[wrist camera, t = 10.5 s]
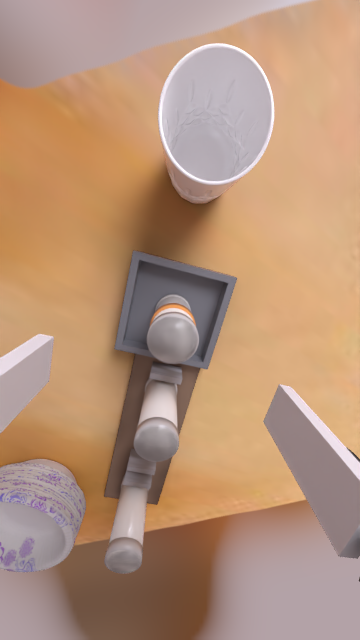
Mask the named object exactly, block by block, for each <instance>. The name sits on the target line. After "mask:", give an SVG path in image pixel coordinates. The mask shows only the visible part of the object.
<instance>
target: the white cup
mask: <svg viewBox="0 0 360 640" xmlns="http://www.w3.org/2000/svg"><path fill="white" fill-rule="evenodd" d="M273 123H274V101H273V95H272V91H271V87H270V84H269V82H268V79H267V77H266V75H265V73H264V72H263V70H262V68H261V67H260V66H259V64H258V63H257V62H256V61H255V60H254V59H253V58H252V57H251V56H250V55H249V54H247V53H246V52H245V51H243V50H241V49H239V48H237V47H235V46H232V45H228V44H208V45H204V46H201V47H199V48H197V49H195V50H193V51H191V52H190V53H188V54H187V55H185V56H184V57H183V58H182V59H181V60H180V61H179V62H178V63H177V64H176V65H175V67H174V68H173V69H172V71H171V73H170V74H169V76H168V78H167V80H166V82H165V84H164V87H163V90H162V93H161V97H160V101H159V109H158V125H159V132H160V137H161V142H162V147H163V152H164V156H165V161H166V166H167V169H168V173H169V175H170V178H171V182H172V185H173V187H174V188H175V189H176V191H177V192H178V194H179V195H180V196H181V197H182V198H184V199H186V200H188V201H189V202H191V203H208V202H210V201H211V200H213V199H215V198H217V197H219V196H220V195H222V194H223V193H224V192H226V191H227V190H228V189H230V188H231V187H232V186H233V185H234V184H235V183H236V182H238V181H239V180H240V179H241V178H242V177H243V176H244V175H246V174H247V173H248V172H249V171H250V170H251V169H252V168H253V167H254V166H255V165H256V164H257V162H258V161H259V160H260V158H261V157H262V155H263V153H264V152H265V150H266V148H267V145H268V143H269V140H270V137H271V133H272V129H273Z"/></svg>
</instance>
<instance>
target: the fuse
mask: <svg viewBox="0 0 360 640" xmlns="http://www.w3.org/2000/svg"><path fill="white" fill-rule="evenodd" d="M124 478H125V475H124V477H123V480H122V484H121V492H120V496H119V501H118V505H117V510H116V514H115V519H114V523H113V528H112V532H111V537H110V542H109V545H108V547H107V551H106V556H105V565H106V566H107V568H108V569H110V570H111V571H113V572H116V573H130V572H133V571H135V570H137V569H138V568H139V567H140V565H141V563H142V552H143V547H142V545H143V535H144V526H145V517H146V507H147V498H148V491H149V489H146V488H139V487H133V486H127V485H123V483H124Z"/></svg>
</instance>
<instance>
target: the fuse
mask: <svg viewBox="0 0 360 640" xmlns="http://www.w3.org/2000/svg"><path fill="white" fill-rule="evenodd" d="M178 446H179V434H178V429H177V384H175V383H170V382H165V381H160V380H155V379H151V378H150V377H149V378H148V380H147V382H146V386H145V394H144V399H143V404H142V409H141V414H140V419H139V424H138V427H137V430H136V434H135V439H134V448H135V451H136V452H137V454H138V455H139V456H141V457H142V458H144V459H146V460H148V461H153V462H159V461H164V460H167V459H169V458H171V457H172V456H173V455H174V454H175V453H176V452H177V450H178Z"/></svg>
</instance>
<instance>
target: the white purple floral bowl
mask: <svg viewBox="0 0 360 640" xmlns="http://www.w3.org/2000/svg"><path fill="white" fill-rule="evenodd" d="M85 510H86V501H85V497H84V494H83V492H82V490H81V489H80V487H79V486H78V485H77V482H76V479H75V477H74V475H73V474H72V473H71V471H70V470H69V469H67V468H66V467H65V466H63V465H62V464H60V463H58V462H55V461H52V460H48V459H33V460H28V461H25V462H21V463H15V464H9V465H5V466H3V467H1V468H0V569H4V570H8V571H14V572H32V571H33V572H34V571H40V570H45V569H48V568H51V567H53V566H55V565H57V564H59V563H60V562H62V561H63V560H64V559H65V558H66V557H67V556H68V555H69V553H70V552H71V550H72V548H73V545H74V543H75V538H76V536H77V534H78V531H79V529H80V525H81V523H82V520H83V517H84V514H85Z"/></svg>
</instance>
